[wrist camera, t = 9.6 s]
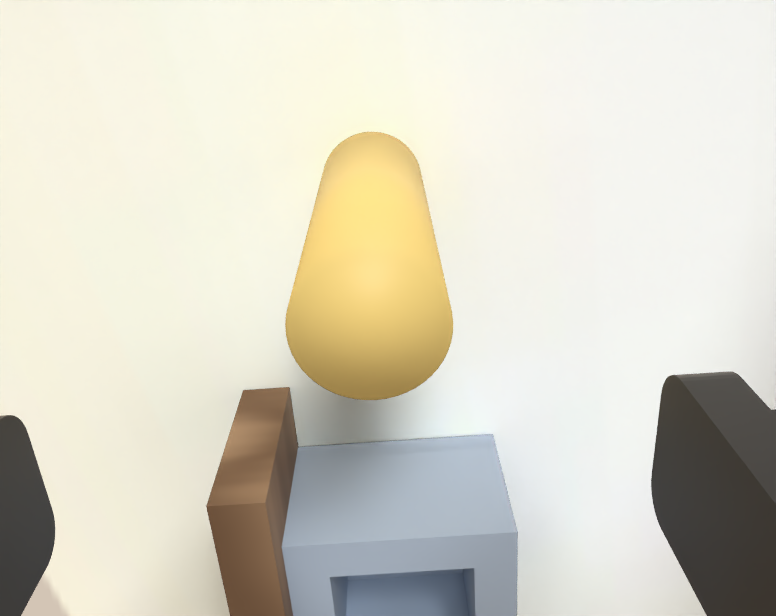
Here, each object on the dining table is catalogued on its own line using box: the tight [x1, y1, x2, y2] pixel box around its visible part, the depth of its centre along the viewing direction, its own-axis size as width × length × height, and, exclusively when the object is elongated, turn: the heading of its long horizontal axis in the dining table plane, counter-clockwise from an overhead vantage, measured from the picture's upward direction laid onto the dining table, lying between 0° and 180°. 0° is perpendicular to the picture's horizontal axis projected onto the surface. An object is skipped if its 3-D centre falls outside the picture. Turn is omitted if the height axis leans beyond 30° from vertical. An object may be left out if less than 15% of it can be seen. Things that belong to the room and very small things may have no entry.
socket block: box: [282, 434, 518, 616], centre depth 25 cm, size 7×7×5 cm
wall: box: [206, 387, 298, 616], centre depth 25 cm, size 2×12×6 cm, turn 4°
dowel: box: [285, 132, 453, 400], centre depth 18 cm, size 3×3×10 cm
